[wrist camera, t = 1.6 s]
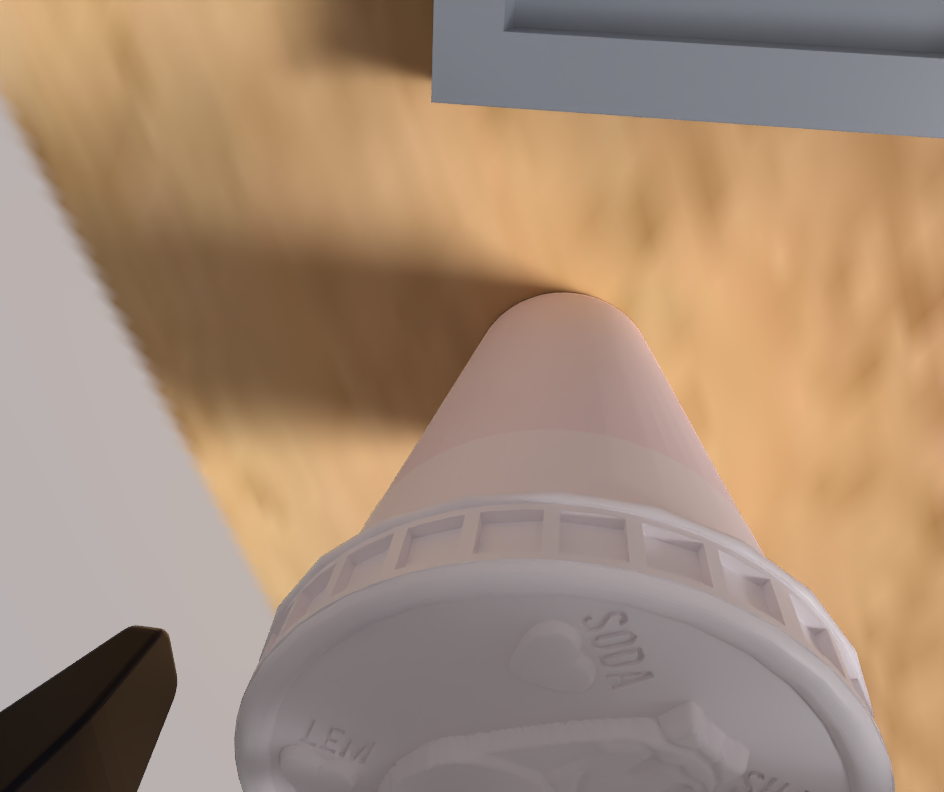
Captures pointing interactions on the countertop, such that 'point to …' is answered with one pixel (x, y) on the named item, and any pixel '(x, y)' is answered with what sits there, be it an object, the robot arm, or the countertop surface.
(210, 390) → the countertop surface
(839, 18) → the tray
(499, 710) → the smoothie
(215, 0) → the countertop surface
